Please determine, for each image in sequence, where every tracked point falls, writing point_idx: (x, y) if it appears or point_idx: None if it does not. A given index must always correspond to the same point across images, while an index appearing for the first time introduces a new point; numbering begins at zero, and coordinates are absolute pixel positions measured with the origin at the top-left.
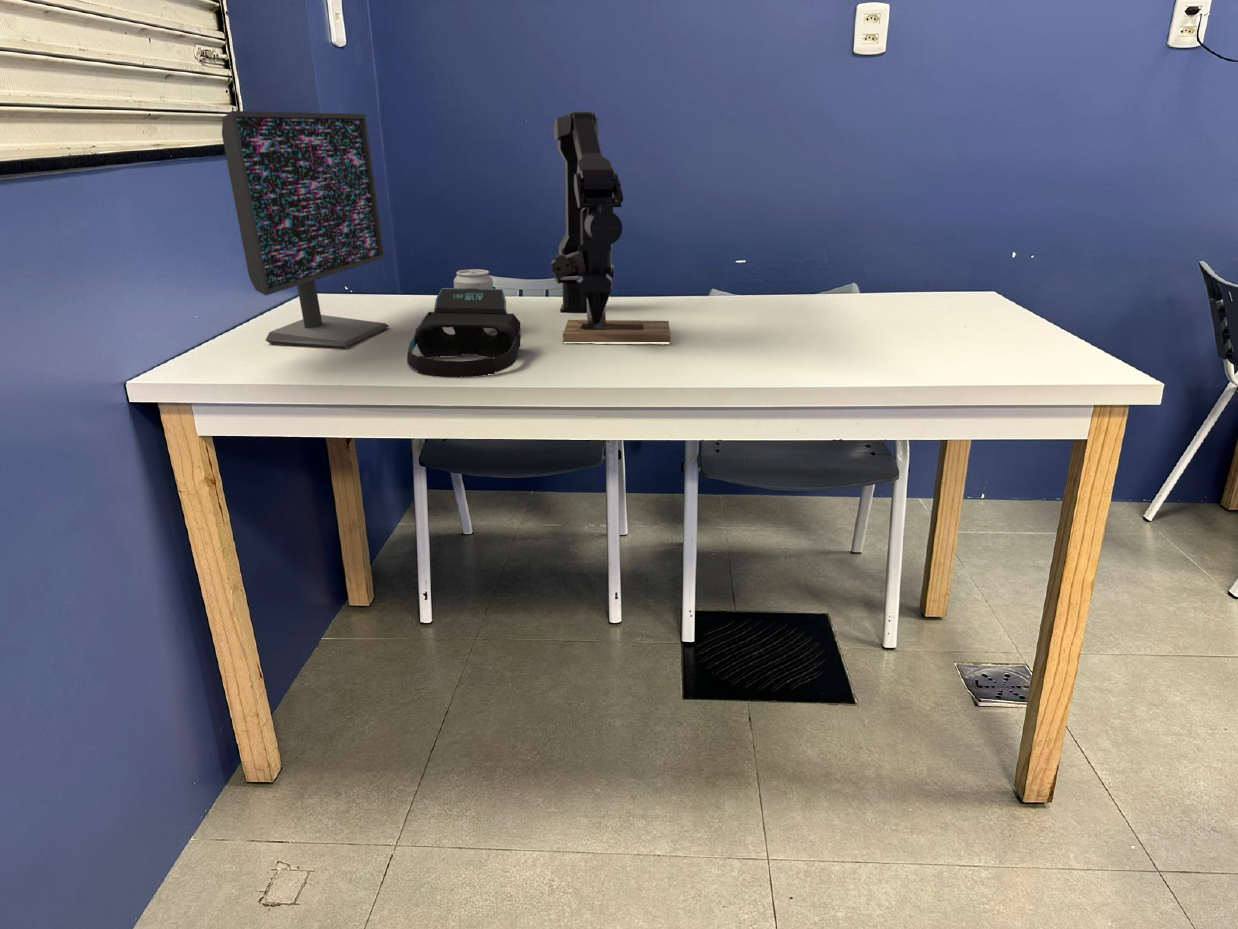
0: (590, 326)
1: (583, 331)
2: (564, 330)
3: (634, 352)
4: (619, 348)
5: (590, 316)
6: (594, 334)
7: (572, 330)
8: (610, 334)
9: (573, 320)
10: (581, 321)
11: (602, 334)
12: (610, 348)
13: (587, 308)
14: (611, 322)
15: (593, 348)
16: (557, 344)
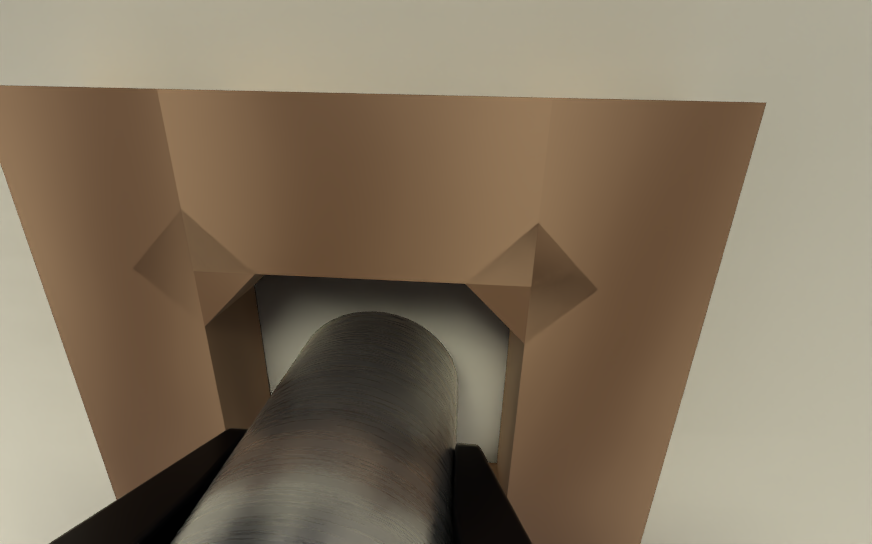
0: (285, 374)
1: (136, 303)
2: (122, 93)
3: (31, 534)
4: (91, 475)
5: (232, 454)
6: (87, 388)
7: (146, 191)
8: (120, 494)
9: (701, 179)
10: (625, 276)
11: (102, 444)
12: (72, 431)
13: (225, 513)
14: (542, 526)
15: (32, 335)
16: (51, 31)
